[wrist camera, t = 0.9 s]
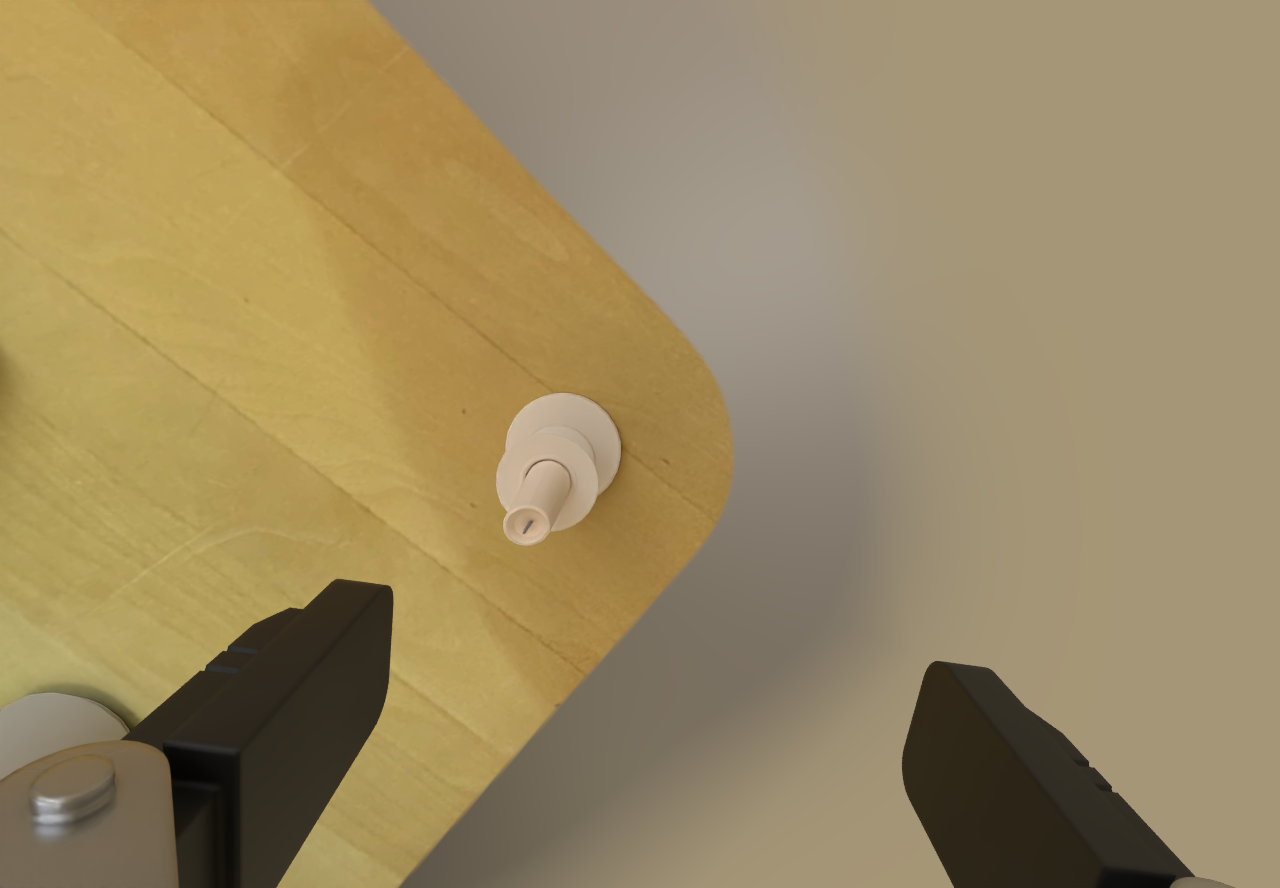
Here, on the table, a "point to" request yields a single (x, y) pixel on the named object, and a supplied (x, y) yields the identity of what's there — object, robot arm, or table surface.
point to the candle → (555, 465)
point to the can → (52, 727)
